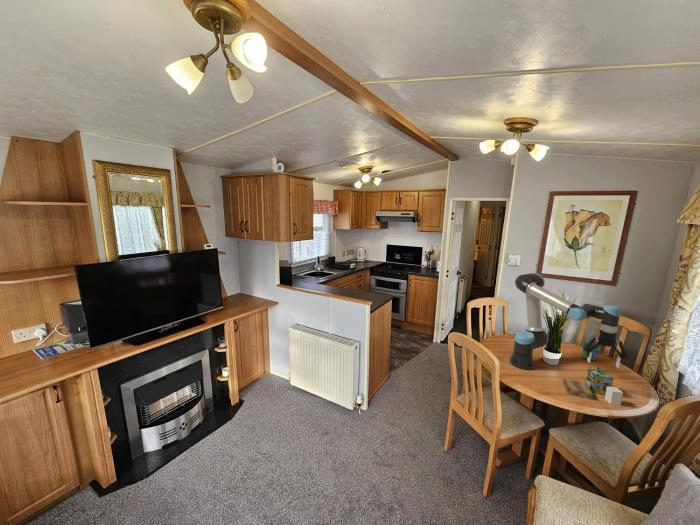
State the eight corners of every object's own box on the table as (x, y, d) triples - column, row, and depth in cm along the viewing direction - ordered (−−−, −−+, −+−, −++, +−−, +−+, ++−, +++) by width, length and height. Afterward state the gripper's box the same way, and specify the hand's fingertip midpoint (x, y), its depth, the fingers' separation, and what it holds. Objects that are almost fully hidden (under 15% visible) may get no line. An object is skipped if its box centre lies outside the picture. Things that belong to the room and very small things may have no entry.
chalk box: (610, 395, 173) (615, 373, 170) (592, 392, 175) (596, 370, 173) (602, 386, 181) (606, 365, 179) (585, 384, 184) (588, 362, 181)
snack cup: (591, 363, 210) (593, 350, 208) (575, 357, 219) (577, 344, 218) (603, 359, 216) (605, 347, 214) (587, 353, 225) (589, 341, 224)
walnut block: (566, 394, 174) (567, 388, 173) (562, 384, 184) (563, 378, 184) (592, 400, 169) (593, 394, 168) (586, 389, 179) (587, 383, 178)
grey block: (610, 404, 165) (612, 391, 163) (604, 398, 170) (606, 386, 168) (620, 405, 164) (622, 392, 162) (614, 399, 169) (616, 387, 167)
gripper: (583, 329, 174) (578, 362, 177) (638, 337, 163) (632, 372, 166) (580, 325, 180) (575, 357, 184) (633, 332, 169) (627, 366, 173)
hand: (602, 364), depth 175 cm, fingers open, 13 cm apart
